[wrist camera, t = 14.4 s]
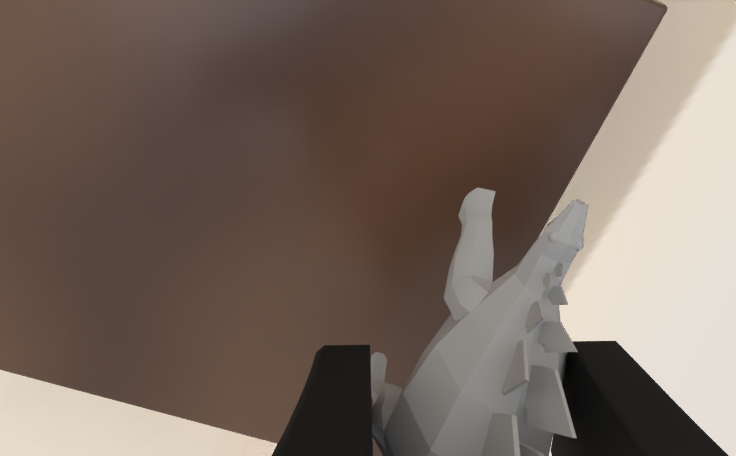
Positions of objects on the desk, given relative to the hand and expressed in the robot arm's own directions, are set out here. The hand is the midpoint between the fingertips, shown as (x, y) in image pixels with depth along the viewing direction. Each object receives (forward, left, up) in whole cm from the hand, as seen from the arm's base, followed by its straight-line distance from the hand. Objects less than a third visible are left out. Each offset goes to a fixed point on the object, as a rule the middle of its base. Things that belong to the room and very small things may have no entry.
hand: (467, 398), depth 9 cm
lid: (+4, +1, -4) cm, 6 cm away
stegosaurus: (0, 0, -2) cm, 2 cm away
